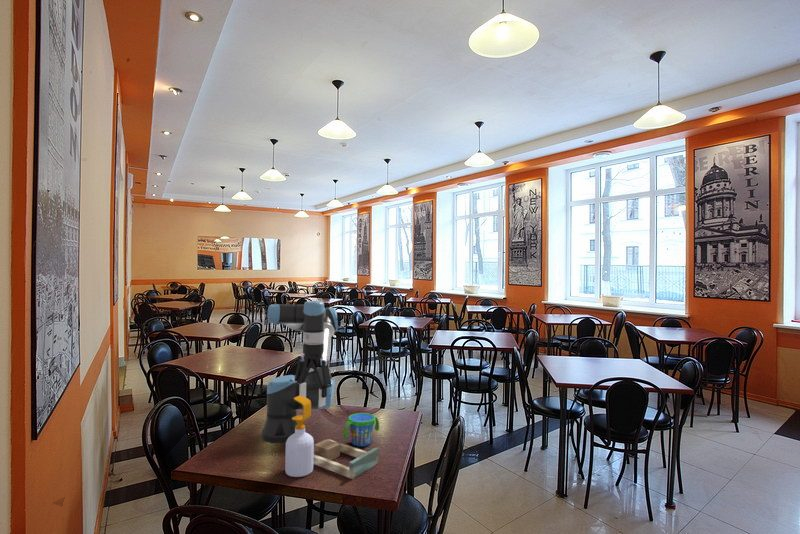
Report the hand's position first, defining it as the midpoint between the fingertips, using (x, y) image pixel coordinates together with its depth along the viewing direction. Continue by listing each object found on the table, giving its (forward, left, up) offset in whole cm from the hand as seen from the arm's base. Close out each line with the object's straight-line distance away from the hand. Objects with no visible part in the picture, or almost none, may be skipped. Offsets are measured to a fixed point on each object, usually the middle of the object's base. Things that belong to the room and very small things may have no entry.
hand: (312, 403), depth 152 cm
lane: (+14, 0, -18) cm, 22 cm away
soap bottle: (+8, -13, -18) cm, 24 cm away
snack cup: (+11, +16, -18) cm, 26 cm away
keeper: (+8, 0, -18) cm, 19 cm away
